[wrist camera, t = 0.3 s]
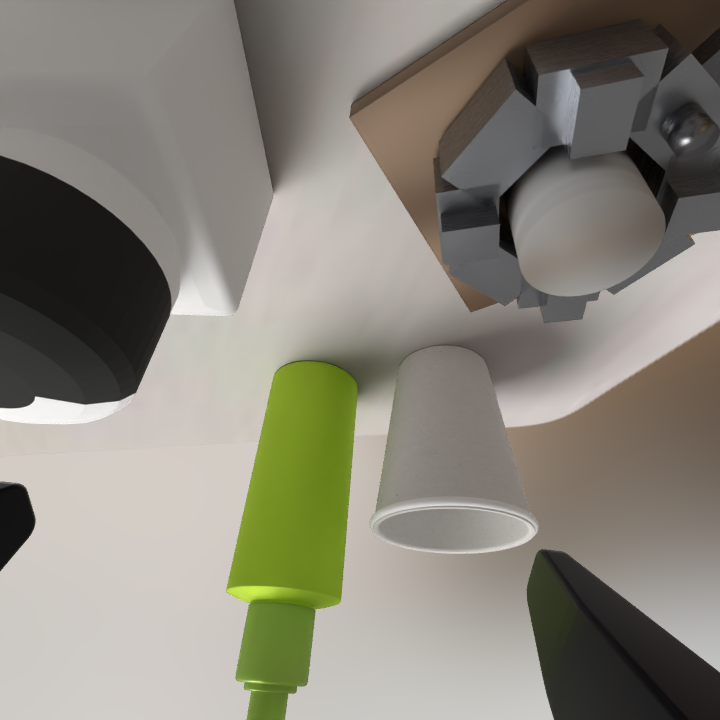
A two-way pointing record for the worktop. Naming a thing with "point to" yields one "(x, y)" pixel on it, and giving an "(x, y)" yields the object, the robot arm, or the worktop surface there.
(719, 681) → the robot arm
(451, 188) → the desk sculpture ornament
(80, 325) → the medicine bottle
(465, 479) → the dixie cup
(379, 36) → the worktop surface
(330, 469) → the soap dispenser
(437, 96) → the mount board
